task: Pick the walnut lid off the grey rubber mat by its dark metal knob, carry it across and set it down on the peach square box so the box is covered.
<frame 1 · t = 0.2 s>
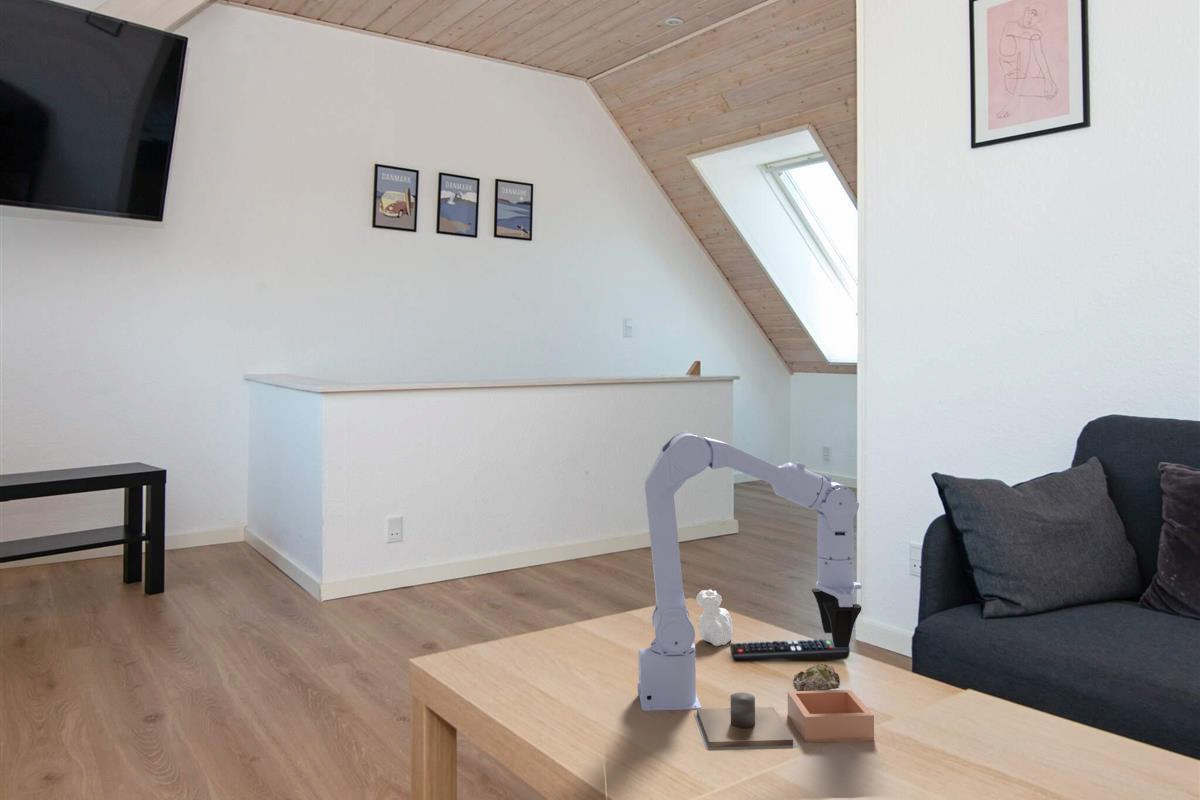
hand: (835, 639, 136), 10 cm above the table, fingers open, 7 cm apart
peach square box: (829, 729, 125), on the table
mineral rock: (814, 688, 144), on the table
walnut lid: (743, 728, 125), resting on rubber mat
rubber mat: (743, 731, 125), on the table
bust: (714, 641, 169), on the table
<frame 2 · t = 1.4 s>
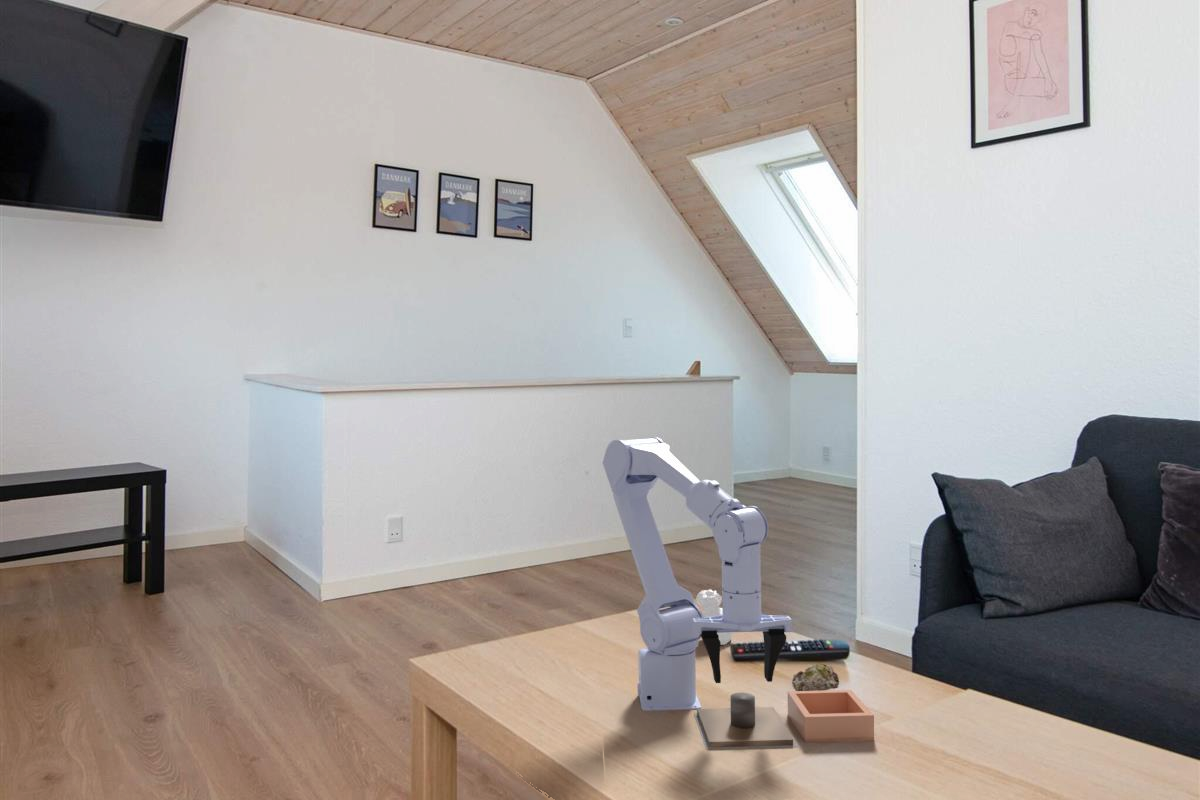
hand: (742, 680, 125), 8 cm above the table, fingers open, 7 cm apart
nothing on the table moved.
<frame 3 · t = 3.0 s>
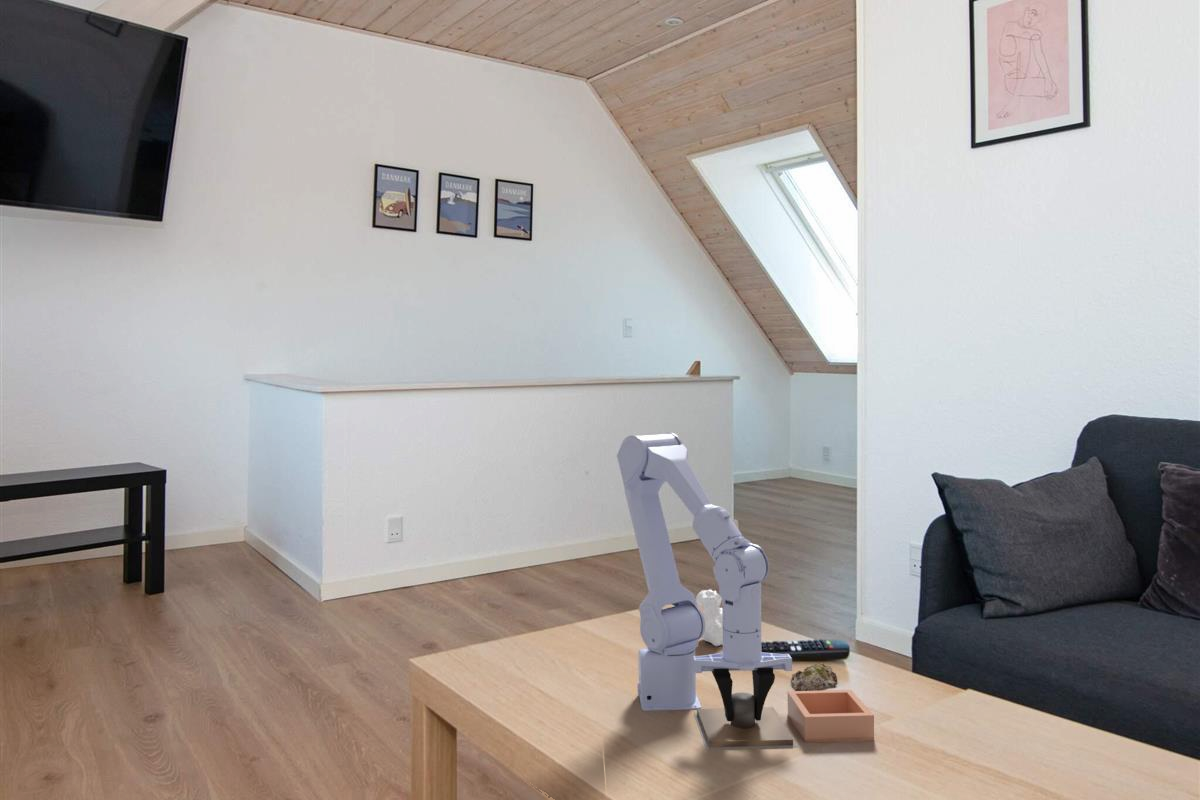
hand: (742, 718, 125), 2 cm above the table, fingers closed on walnut lid, 4 cm apart
walnut lid: (743, 728, 125), resting on rubber mat, touching gripper
everything else where it was.
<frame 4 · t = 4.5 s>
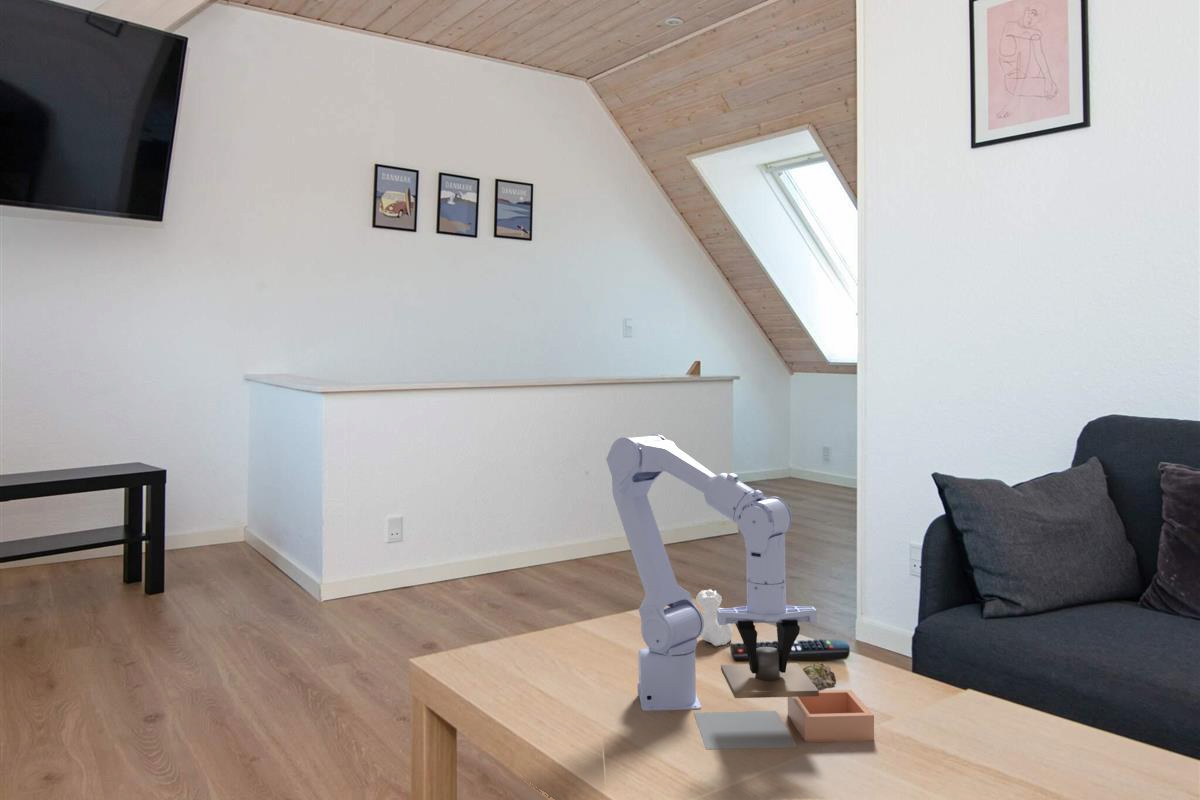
hand: (767, 670, 125), 9 cm above the table, fingers closed on walnut lid, 4 cm apart
walnut lid: (767, 682, 125), point 7 cm above the table, touching gripper
everything else where it was.
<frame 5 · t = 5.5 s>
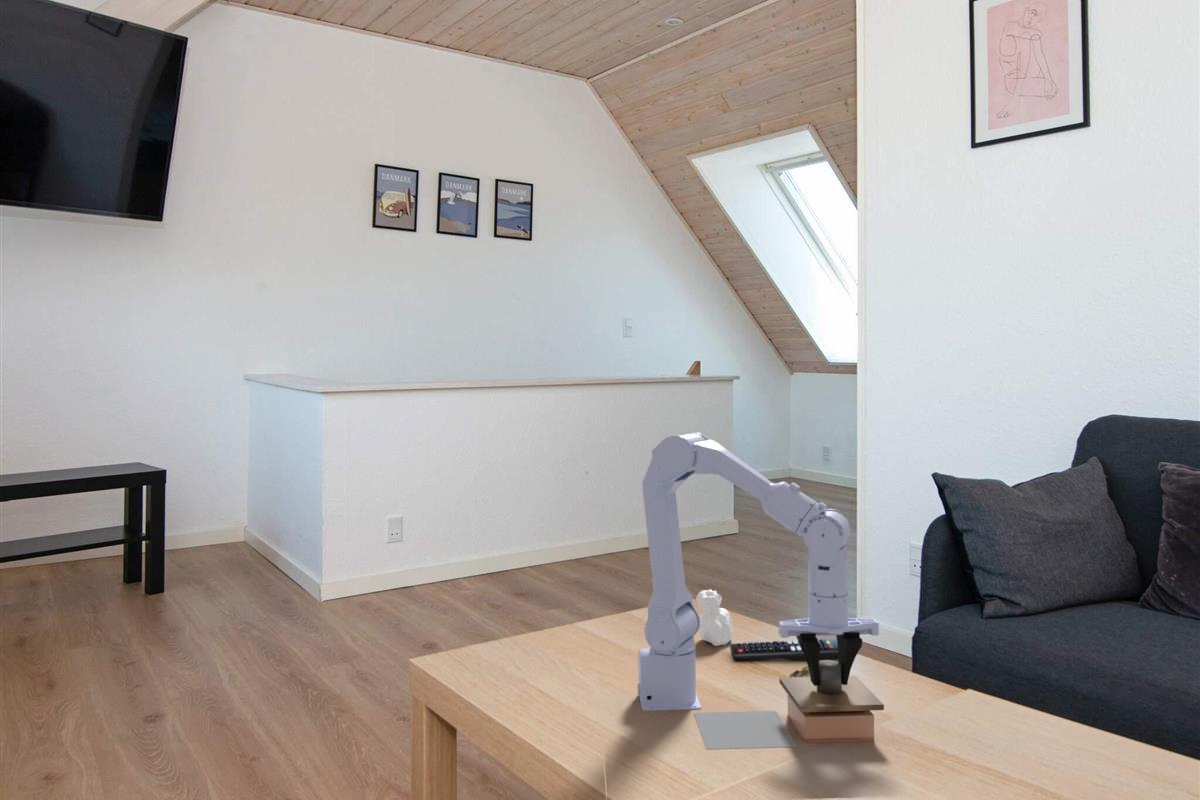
hand: (828, 683, 125), 7 cm above the table, fingers closed on walnut lid, 4 cm apart
walnut lid: (829, 695, 125), point 5 cm above the table, touching gripper
everything else where it was.
when the fingers open (7 cm above the table, at t = 6.3 s): walnut lid stays where it is, resting on peach square box.
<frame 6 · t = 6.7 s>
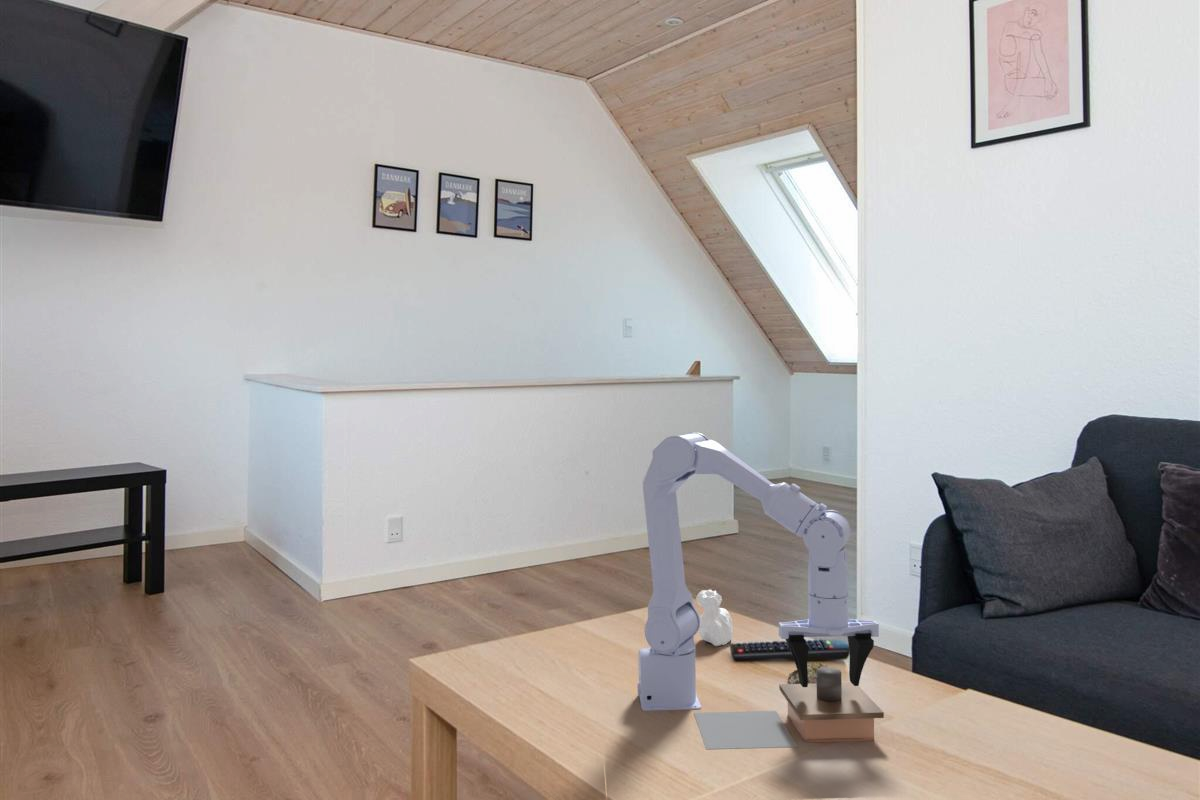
hand: (828, 684, 125), 7 cm above the table, fingers open, 7 cm apart
walnut lid: (829, 703, 125), point 4 cm above the table, touching peach square box
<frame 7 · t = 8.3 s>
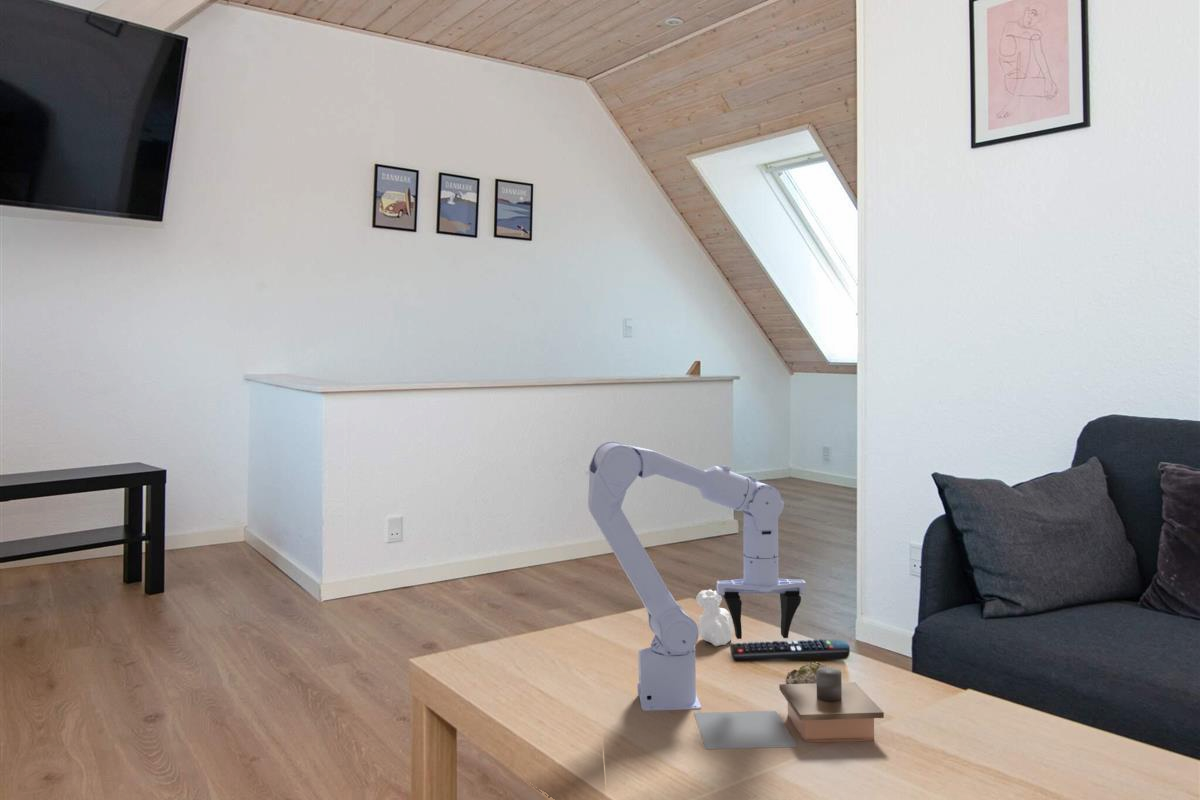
hand: (761, 636, 139), 10 cm above the table, fingers open, 7 cm apart
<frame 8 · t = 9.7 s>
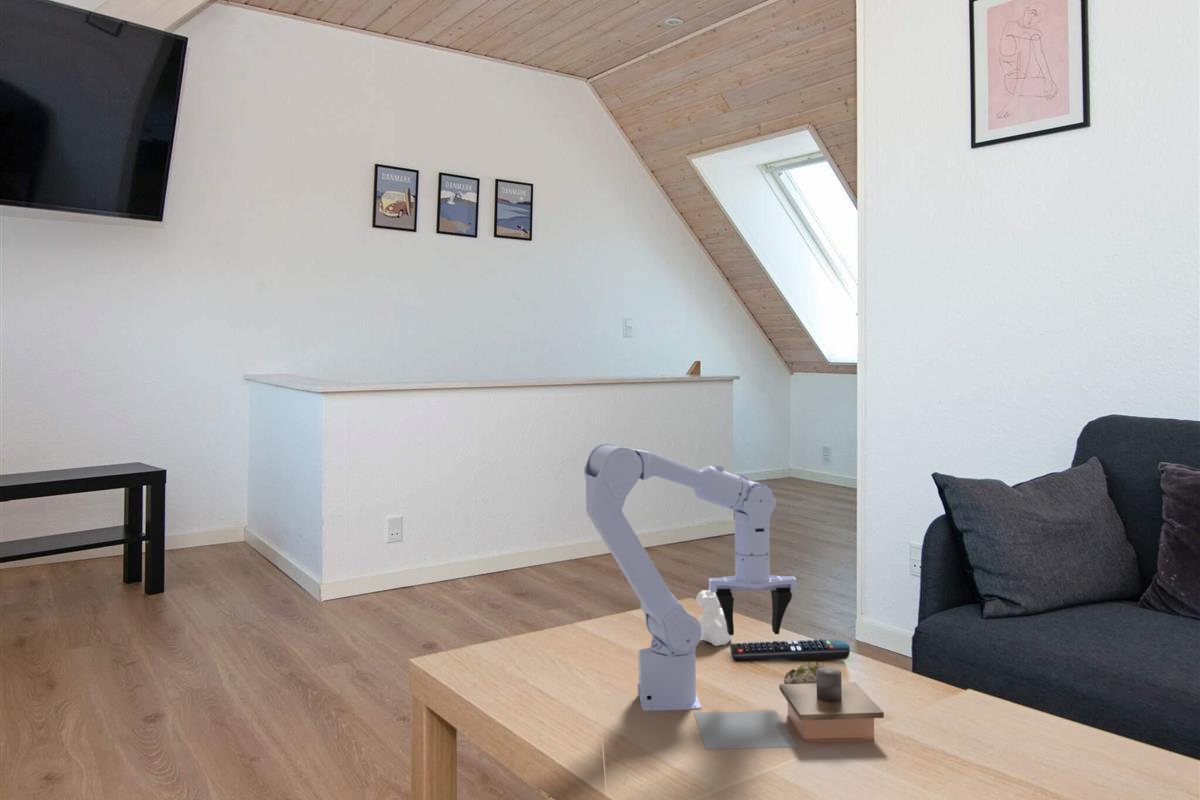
hand: (753, 632, 141), 10 cm above the table, fingers open, 7 cm apart
at the end: walnut lid 0.1 cm off-centre on the peach square box, point 4.0 cm above the peach square box's base; walnut lid tilted 0°; the gripper is holding nothing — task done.
